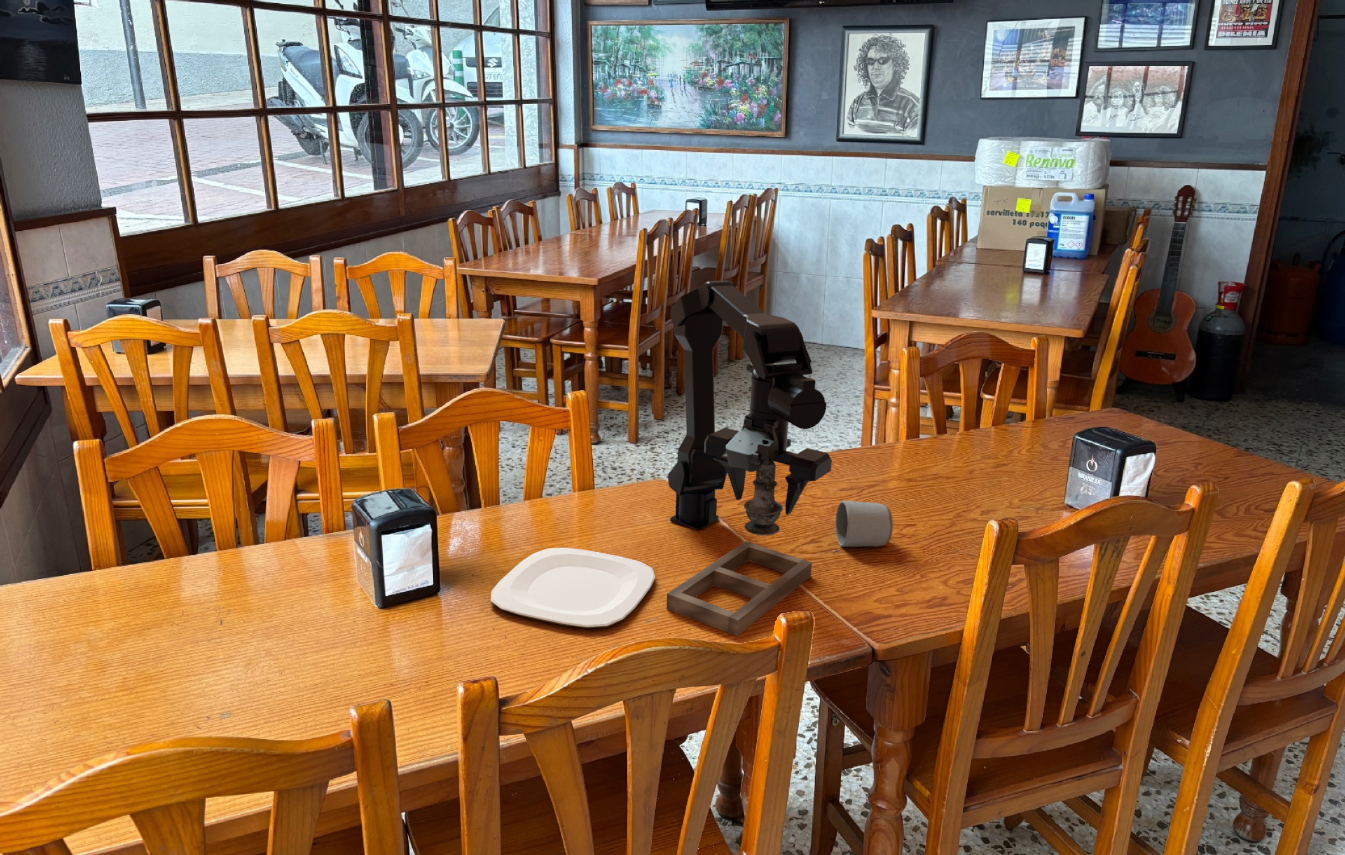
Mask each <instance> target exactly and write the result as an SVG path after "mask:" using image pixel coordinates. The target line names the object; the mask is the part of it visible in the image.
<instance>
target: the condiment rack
mask: <svg viewBox="0 0 1345 855" xmlns="http://www.w3.org/2000/svg"><path fill="white" fill-rule="evenodd" d="M747 562H750V563H754V564H755V565H756V564H757V565H760V566H762V567H766V568H768V569H772V570H775V571H777V572H780V573H783V574H782V575H780V577H778V578H777V579H776V580H775V581H774V582H772V583H768V582H766V581H762V580H759V579H756V578H753V577H751V576H747V575H744V574H741V573H738V572H735V570H737V569H738V568H740V567H742V566H743V565H745V563H747ZM812 564H813V562H811V561H810V560H805V559H803V558H800V557H797V556H793V555H791V554H787V553H784V552H781V551H778V550H774V549H772V548H768V547H765V546H764V545H760V544H757V543H753V542H750V541H743V542H742V543H741V544H739V545H737V546H736V547H735V548H733V549H732V550H730V551H728V552H727V553H726V554H724V555H723V556H721V557H720V558H718V559H716V560H715V561H714V562H712V563H711V564H709V565H708V566H706V567H705V568H703V569H702V570H700V571H698V572H697V573H695V574H694V575H693V576H691V577H690V578H688V579H686V580H685V581H683V582H682V583H681V584H679V585H677V586H676V587H674V588H673V589H671V590H670V591H669V592H667V593H666V608H665V609H666V610H668V611H671V612H674V613H676V614H678V615H681V616H684V617H686V618H689V619H692V620H694V621H696V620H697V622H700V623H702V624H704V623H705V625H707V626H709V625H710V626H709V627H712V626H713V627H712V628H714V627H715V628H714V629H717V628H718V629H717V630H721V631H723V632H725V633H728V634H730V635H733V636H735V637H738V636H739V635H741V634H742V633H744V632H745V630H747V629H748V628H749V627H751V626H752V625H753V624H755V622H756V621H758V620H759V619H761V617H763V616H764V615H765V614H767V612H768V613H769V611H770V610H771V609H773V608H774V607H775V606H777V604H778V603H780V602H781V601H782V600H784V599H785V598H786V597H788V596H789V595H790V594H791V593H792V592H794V591H795V590H796V589H798V588H799V587H800V586H801V585H803V583H805V582H806V581H807V580H808V579H810V578H811V575H812ZM713 586H714V587H718V588H720V589H724V590H726V591H730V592H732V593H735V594H738V595H740V596H742V597H746V598H749V599H750V600H749V601H746V603H745V604H744V605H742V606H740V607H739V608H738V609H737V610H736V611H731V610H729V609H727V608H723V607H721V606H718V605H717V604H716V605H715V604H713V603H710V602H707V601H705V600H702V599H700V598H698V597H699V596H700V595H702V594H703V593H705V592H706V591H707V590H709V589H710V588H711V587H713Z"/></svg>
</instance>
